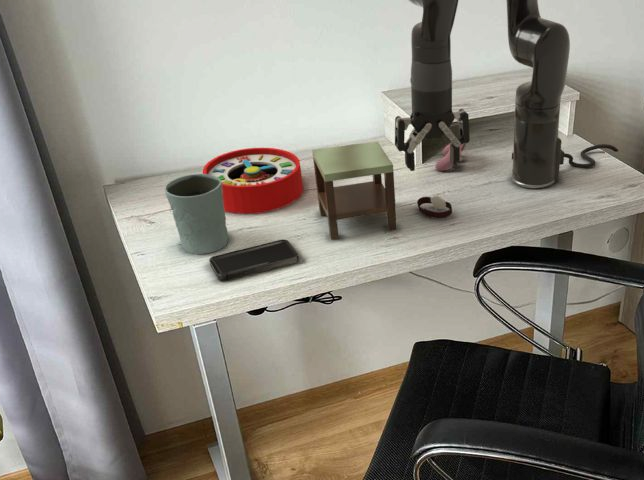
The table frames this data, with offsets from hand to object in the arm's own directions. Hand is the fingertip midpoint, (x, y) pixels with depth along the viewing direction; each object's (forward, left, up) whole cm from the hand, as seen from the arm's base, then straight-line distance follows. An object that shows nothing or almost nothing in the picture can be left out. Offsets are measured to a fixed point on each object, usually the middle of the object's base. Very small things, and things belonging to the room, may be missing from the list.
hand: (432, 166), depth 158 cm
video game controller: (-11, -22, -10) cm, 27 cm away
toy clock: (+33, -22, -10) cm, 41 cm away
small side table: (+15, -2, -10) cm, 18 cm away
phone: (+37, +8, -10) cm, 39 cm away
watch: (0, 0, -10) cm, 10 cm away
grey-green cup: (+45, -3, -10) cm, 46 cm away
